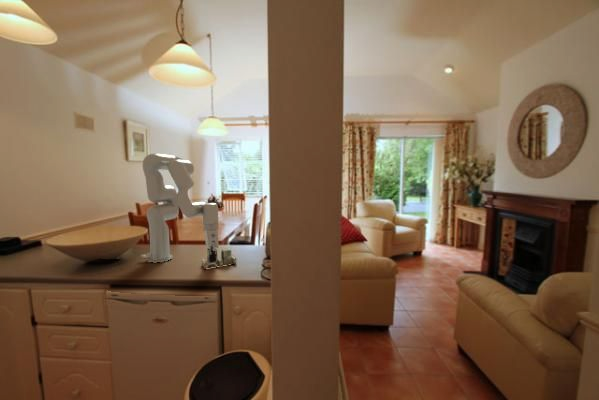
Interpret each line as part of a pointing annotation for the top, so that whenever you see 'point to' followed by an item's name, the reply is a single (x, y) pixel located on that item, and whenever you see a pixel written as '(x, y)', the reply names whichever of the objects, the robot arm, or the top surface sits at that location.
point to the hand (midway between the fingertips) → (211, 259)
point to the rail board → (221, 259)
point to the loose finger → (209, 258)
